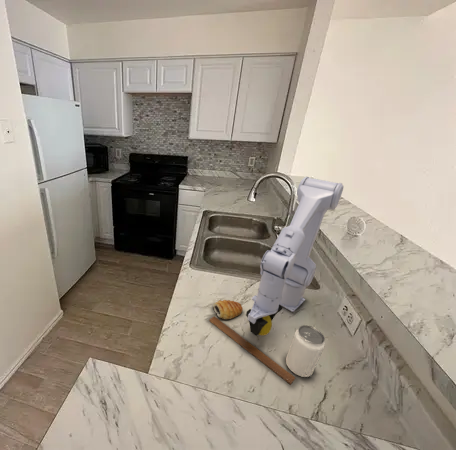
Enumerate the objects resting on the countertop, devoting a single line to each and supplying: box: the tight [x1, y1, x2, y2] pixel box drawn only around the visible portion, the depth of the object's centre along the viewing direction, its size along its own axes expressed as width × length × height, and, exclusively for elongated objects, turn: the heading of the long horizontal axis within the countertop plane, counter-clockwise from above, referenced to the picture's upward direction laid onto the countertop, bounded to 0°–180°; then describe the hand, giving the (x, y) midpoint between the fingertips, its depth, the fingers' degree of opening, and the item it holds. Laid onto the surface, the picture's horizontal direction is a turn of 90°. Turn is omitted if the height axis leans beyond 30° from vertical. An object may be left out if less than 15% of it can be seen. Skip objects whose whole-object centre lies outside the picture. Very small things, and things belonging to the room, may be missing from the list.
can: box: [285, 324, 326, 378], centre depth 65 cm, size 6×6×12 cm
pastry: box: [212, 299, 243, 320], centre depth 84 cm, size 9×7×4 cm
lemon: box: [258, 315, 273, 336], centre depth 73 cm, size 6×6×8 cm
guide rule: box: [208, 316, 296, 386], centre depth 72 cm, size 2×26×1 cm, turn 39°
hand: (259, 328), depth 74 cm, fingers closed on lemon, 5 cm apart
